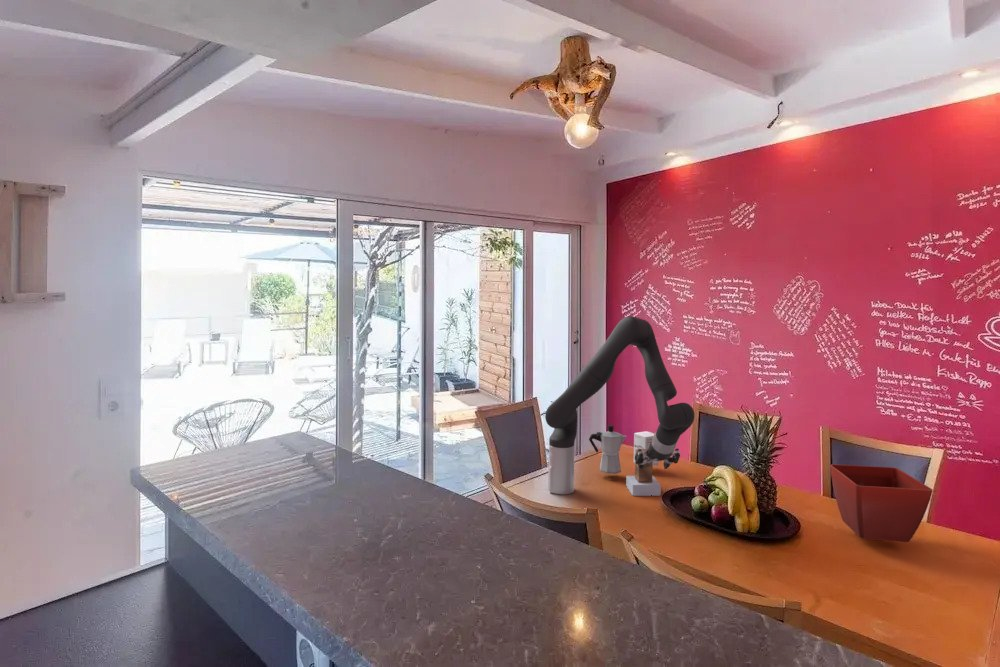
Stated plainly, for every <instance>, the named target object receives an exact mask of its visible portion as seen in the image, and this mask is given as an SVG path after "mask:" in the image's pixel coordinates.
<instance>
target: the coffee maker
mask: <svg viewBox="0 0 1000 667" xmlns="http://www.w3.org/2000/svg"><path fill="white" fill-rule="evenodd" d="M614 427H615V426H614V425H613V424H612V425H611V424H610V425H609V424H608V425H607V431H602V432H600V431H597V432H596V433H592V434H590V436H589V438H588V441H589V442H590V444H591V446H592V447H593V449H594V450H595V452H596V453H598V452H599V449H598V447H597V445H596V444H595V443H594V441H593V440H596V441H598V442H600V447H601V451H602V453H601V459H600V464H599V470H600V472H601V473H605V474H613V475H616V474H619V473H622V466H621V460H620V454H619V452H620V451H621V447H622V446H621V445H622V444H623V443H624V442H625V441H624V440H625V439H626V438H627V437H628V436H627V435H623V434H622V433H619V432H618V431H617V432H616V431H614V429H615V428H614Z"/></svg>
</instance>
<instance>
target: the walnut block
mask: <svg viewBox="0 0 1000 667" xmlns="http://www.w3.org/2000/svg"><path fill="white" fill-rule="evenodd" d="M638 450H639V449H635V455H636V453H637V451H638ZM647 450H648V449H642V451H647ZM643 460H645V458H644V459H643ZM634 466H635V467H634V476H635V479H636V480H637V481H638V483H652V476H653V470H654V469H653V468H654V466H653V462H651V463H646V464H644V467H643V469H640V468H639V467H638V464H636V462H635V463H634Z"/></svg>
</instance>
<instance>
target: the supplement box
mask: <svg viewBox="0 0 1000 667" xmlns="http://www.w3.org/2000/svg"><path fill="white" fill-rule="evenodd" d="M654 434H655V432H654V433H653V432H651V431H646V430H645V431H639V432H634V434H633V435H634V436H633V463H634V464H635V449H649V445H650V443H651V441H652V438H653V436H654ZM655 466H659V461H653V467H655Z"/></svg>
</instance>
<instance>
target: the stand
mask: <svg viewBox="0 0 1000 667" xmlns="http://www.w3.org/2000/svg"><path fill="white" fill-rule="evenodd" d="M625 477H626V478H625V479H626V480H625V482H626V484H625V486H627V487H626V488H627V489H629V490H628V491H629V493H631V496H633V497H655V496H656V497H657V496H658V497H660V496H661V492H662V491H661V487H662V485H661V483H659V481H658V480H657V478H655V476H654V475H652V483H638V481H637V480H636V479H635V475H626V476H625ZM651 495H652V496H651Z"/></svg>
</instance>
